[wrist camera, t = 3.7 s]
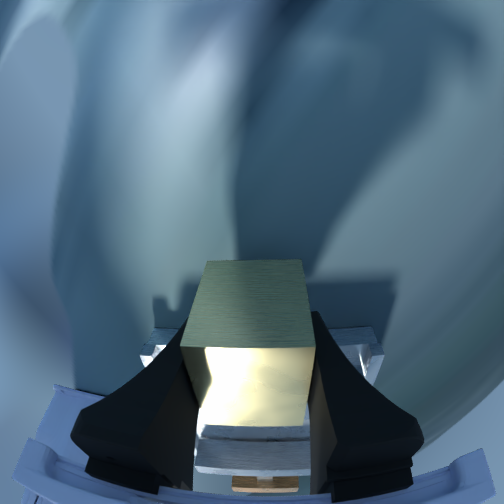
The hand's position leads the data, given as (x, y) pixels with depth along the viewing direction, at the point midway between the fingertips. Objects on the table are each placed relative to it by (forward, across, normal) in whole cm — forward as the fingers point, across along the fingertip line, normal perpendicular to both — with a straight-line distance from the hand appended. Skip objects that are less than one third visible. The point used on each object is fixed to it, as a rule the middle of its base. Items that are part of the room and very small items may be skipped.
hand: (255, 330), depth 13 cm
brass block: (+2, 0, 0) cm, 2 cm away
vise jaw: (+2, 0, +21) cm, 22 cm away
